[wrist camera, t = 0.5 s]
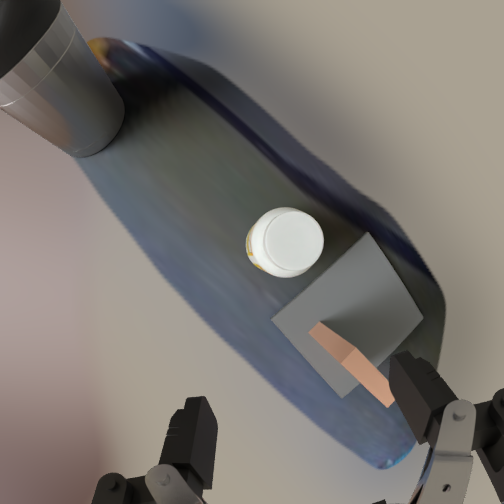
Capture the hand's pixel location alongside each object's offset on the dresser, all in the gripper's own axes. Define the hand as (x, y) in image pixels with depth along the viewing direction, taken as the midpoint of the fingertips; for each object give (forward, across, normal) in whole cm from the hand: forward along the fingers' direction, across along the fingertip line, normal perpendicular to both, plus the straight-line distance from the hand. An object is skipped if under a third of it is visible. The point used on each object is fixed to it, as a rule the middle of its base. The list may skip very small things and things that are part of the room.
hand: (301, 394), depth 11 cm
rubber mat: (+17, -8, +8) cm, 20 cm away
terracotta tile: (+15, -5, +10) cm, 19 cm away
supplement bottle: (+19, 0, -1) cm, 19 cm away
